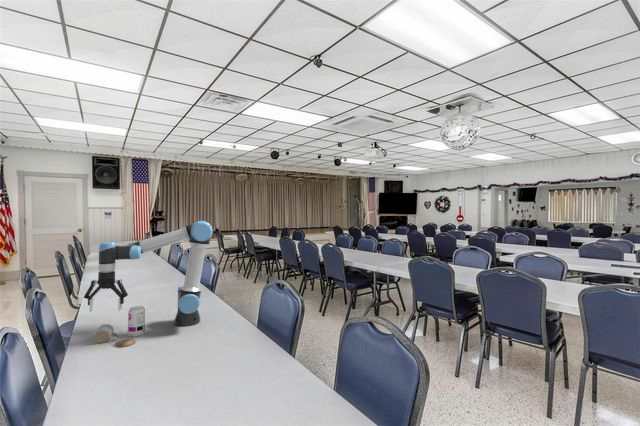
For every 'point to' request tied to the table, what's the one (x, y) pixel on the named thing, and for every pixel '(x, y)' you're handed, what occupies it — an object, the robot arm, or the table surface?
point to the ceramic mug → (105, 334)
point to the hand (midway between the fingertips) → (105, 310)
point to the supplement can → (136, 321)
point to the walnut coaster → (125, 343)
